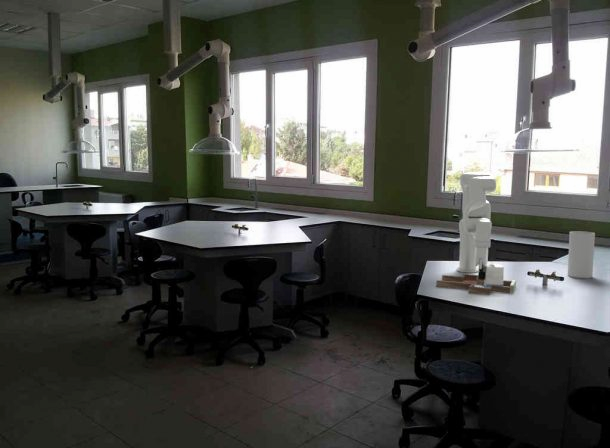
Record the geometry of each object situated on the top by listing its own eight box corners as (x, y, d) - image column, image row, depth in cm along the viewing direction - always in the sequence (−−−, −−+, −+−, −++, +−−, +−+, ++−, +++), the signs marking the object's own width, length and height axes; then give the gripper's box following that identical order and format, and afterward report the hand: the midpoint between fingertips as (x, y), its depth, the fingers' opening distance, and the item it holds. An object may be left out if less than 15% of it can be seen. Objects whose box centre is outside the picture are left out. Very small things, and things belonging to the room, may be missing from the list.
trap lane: (445, 277, 295) (445, 270, 295) (516, 284, 279) (517, 276, 279) (433, 289, 268) (433, 281, 267) (511, 297, 251) (512, 288, 251)
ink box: (503, 290, 266) (504, 264, 264) (486, 289, 267) (486, 263, 266) (500, 286, 274) (501, 261, 272) (483, 285, 276) (484, 260, 274)
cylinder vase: (591, 275, 300) (593, 232, 298) (593, 279, 289) (595, 234, 286) (567, 273, 306) (569, 230, 303) (567, 277, 294) (570, 233, 292)
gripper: (477, 241, 278) (476, 275, 280) (472, 245, 265) (471, 281, 267) (492, 242, 275) (491, 277, 277) (488, 246, 261) (487, 282, 263)
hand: (481, 279), depth 272 cm, fingers closed
